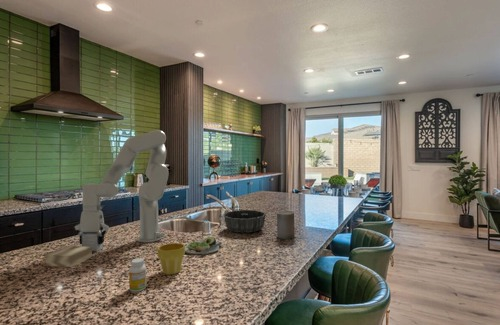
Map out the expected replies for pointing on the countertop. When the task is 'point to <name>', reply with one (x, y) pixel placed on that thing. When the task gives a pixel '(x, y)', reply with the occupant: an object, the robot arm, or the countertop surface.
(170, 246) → the plant pot
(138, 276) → the supplement bottle
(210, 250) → the salad plate
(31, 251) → the countertop surface
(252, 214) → the bundt pan
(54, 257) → the birch block
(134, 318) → the countertop surface
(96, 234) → the medicine box
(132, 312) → the countertop surface
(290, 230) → the pillar candle
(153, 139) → the robot arm
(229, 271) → the countertop surface
